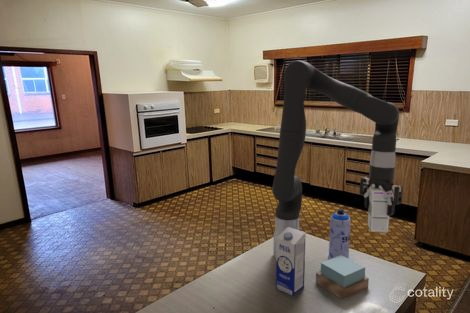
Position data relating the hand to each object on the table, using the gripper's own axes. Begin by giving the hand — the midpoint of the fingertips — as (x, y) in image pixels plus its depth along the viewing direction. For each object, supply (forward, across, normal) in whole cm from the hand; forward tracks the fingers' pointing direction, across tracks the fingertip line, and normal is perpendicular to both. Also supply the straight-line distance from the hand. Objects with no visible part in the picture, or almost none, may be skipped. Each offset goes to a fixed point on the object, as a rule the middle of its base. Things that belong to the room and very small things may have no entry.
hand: (378, 211), depth 111 cm
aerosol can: (+25, -17, +2) cm, 30 cm away
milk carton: (+25, -12, -28) cm, 39 cm away
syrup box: (+6, 0, 0) cm, 6 cm away
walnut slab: (+25, -3, -12) cm, 28 cm away
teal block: (+21, -3, -12) cm, 25 cm away
